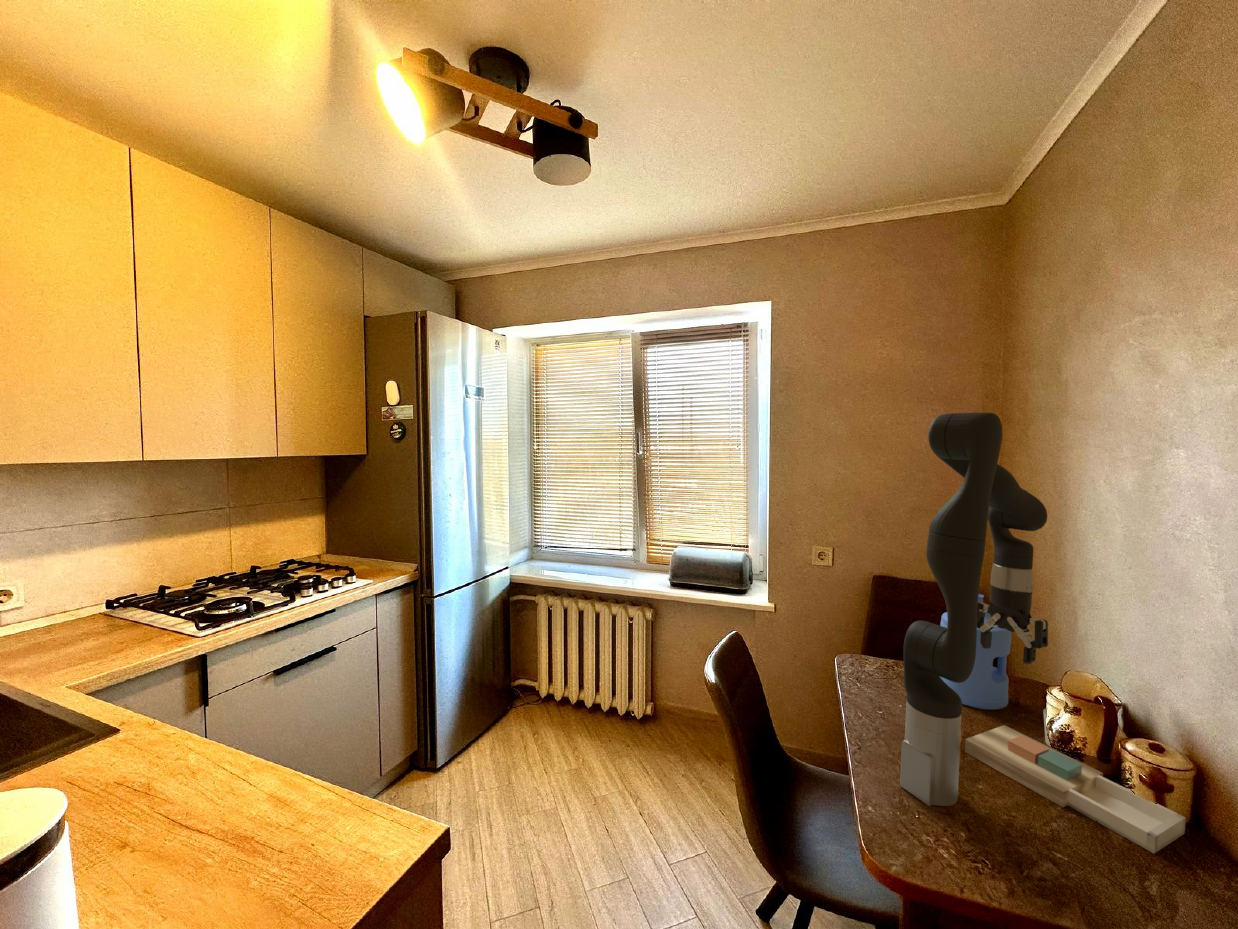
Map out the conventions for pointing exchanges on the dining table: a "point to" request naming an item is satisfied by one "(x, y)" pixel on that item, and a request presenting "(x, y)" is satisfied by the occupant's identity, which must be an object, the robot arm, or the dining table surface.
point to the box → (1129, 814)
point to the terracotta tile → (1027, 748)
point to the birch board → (1027, 766)
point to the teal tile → (1060, 765)
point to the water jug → (985, 671)
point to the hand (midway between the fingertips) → (1006, 655)
